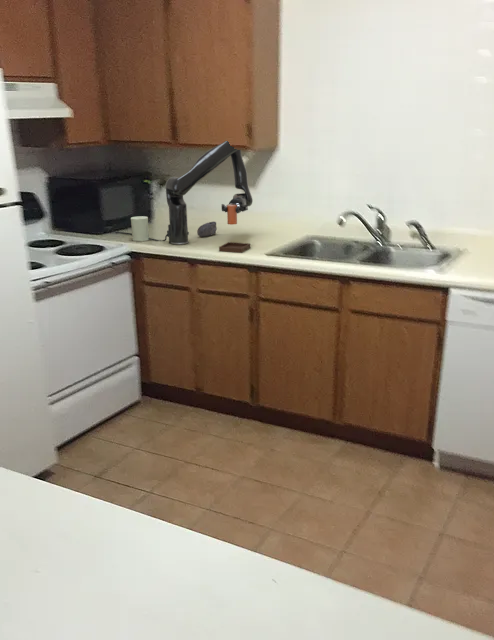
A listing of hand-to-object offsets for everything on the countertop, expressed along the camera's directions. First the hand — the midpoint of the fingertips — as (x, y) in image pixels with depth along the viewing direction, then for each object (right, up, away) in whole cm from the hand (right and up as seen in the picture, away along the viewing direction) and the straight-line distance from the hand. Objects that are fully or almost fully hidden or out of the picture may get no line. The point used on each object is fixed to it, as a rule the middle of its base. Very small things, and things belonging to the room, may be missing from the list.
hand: (231, 210), depth 328 cm
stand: (+2, -18, +5) cm, 19 cm away
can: (-49, -8, +31) cm, 58 cm away
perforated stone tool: (-14, -4, +38) cm, 40 cm away
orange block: (+1, -5, +5) cm, 7 cm away
